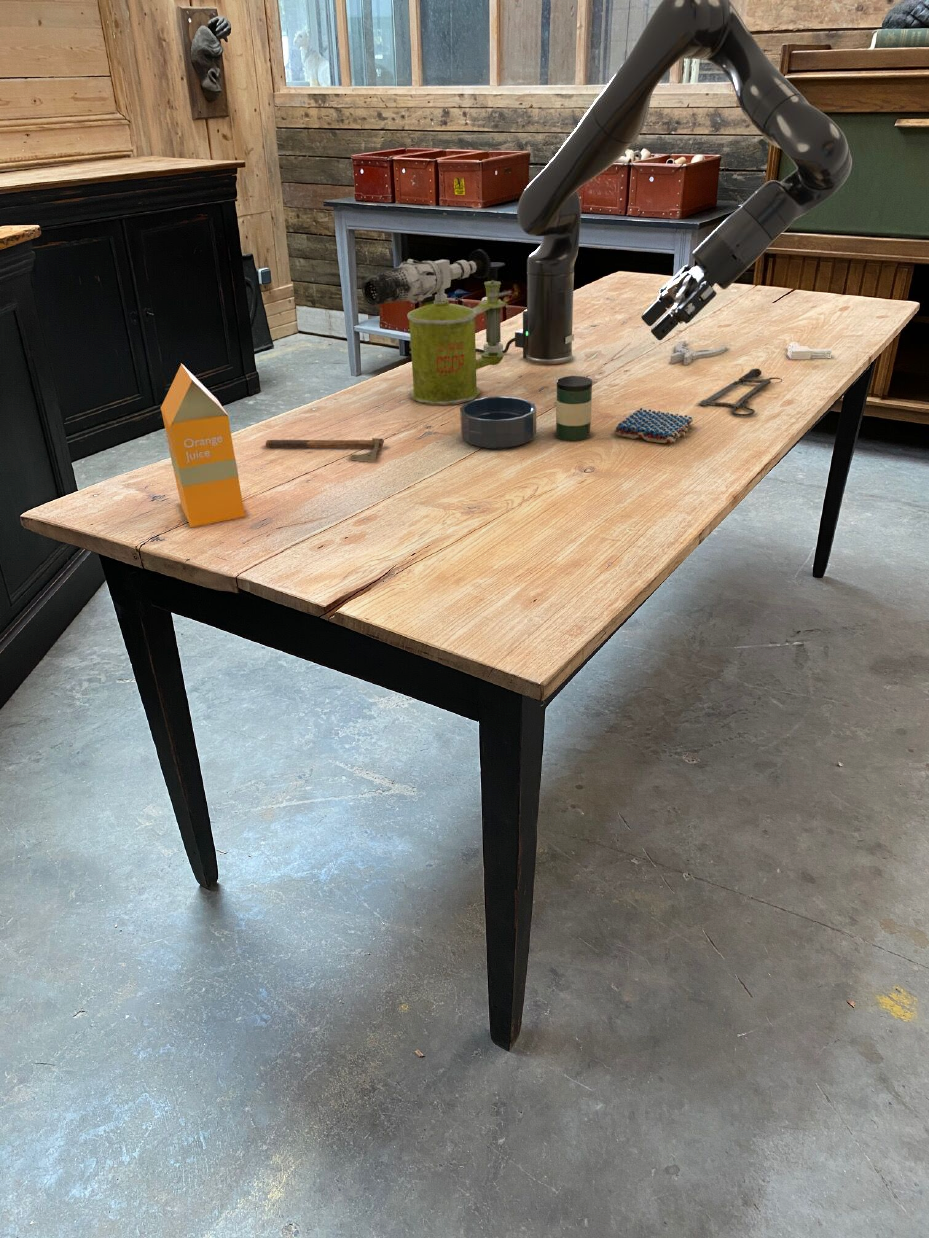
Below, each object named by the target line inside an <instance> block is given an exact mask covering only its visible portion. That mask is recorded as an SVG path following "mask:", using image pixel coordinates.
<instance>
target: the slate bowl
mask: <svg viewBox="0 0 929 1238" xmlns="http://www.w3.org/2000/svg"><path fill="white" fill-rule="evenodd" d="M537 409H538V408H537V407H536V404H535V403H534V402H532V401H530V400H528V399H525V398H520V397H516V396H515V397H514V396H502V395H501V396H500V395H499V396H485V397H481V398H475V399H473V400H470V401H467V402H464V403H463V405H462V406H461V407H460V408H459V415H460V417H459V418H460V435H461V438H462V440H463V441H464V442H467V443H468V444H470V445H475V446H476V447H480V448H485V449H509V448H514V447H519V446H520V445H523V444H527V443H528V442H530V441H532V440H534V439H535V437H536V436H537V416H538V415H537V413H538V412H537Z"/></svg>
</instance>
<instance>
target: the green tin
mask: <svg viewBox="0 0 929 1238" xmlns="http://www.w3.org/2000/svg"><path fill="white" fill-rule="evenodd" d="M592 390H593V380H592V379H591V378H590V377H586V376H581V375H568V376H562V377H560V378H557V380H556V399H555V400H556V401H555V402H556V403H555V436H556V437H557V438H558V439H560V440H562V441H570V442H576V441H578V442H579V441H583V440H587V439H589V438H590V436H591V425H592V424H591V423H592V422H591V421H592V405H593V404H592V402H593V400H592V396H593V391H592Z"/></svg>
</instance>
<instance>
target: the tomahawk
mask: <svg viewBox="0 0 929 1238" xmlns="http://www.w3.org/2000/svg"><path fill="white" fill-rule="evenodd" d="M384 444H385V439H383V438H378V437H377V438H376V437H372V439H267V440H266V441H265V447H266V448H372V450H370V451H368V452H365V453H363V454H351V455H350V457H351V458H350V460H352V461H357V462H367V463H369V462H370V463H376V462H377V454H378V451H380V450H381V448H383V447H384Z"/></svg>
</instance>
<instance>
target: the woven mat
mask: <svg viewBox="0 0 929 1238" xmlns="http://www.w3.org/2000/svg"><path fill="white" fill-rule="evenodd" d="M693 422H694V419H693V417H692V416H688V415H687V414H685V415H684V416H683V415H682V414H678V413H675V414H673V413H670V412H661V410H657V411H655V410H652V409H650V408H649V409H648V410H647V409H643V407H640V408H639V409H636V410H634V411H633V412H632V413H630V414H629V416H628V417H625V418H624V419H623V420H621V422H619V423H618V424H617V426H616V427H615V429H614V430H613V431H614V433H615V434H616V435H617V436H619V437H622V438H626V439H627V438H628V439H632V440H635V439H638V438H640V439H642V438H643V440H645V441H647V442H650V443H651V442H653V443H658V444H666V443H668V444H672V443H674V444H675V443H676V440H678V439H679V438H680V437H685V436H686V433H688V431H689V429H693V427H694V424H693Z"/></svg>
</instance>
